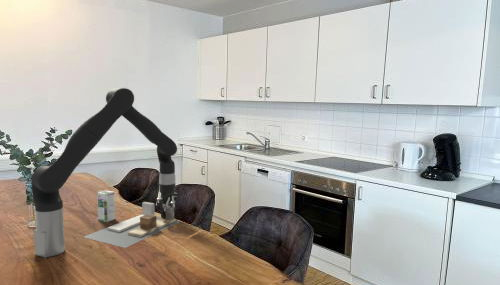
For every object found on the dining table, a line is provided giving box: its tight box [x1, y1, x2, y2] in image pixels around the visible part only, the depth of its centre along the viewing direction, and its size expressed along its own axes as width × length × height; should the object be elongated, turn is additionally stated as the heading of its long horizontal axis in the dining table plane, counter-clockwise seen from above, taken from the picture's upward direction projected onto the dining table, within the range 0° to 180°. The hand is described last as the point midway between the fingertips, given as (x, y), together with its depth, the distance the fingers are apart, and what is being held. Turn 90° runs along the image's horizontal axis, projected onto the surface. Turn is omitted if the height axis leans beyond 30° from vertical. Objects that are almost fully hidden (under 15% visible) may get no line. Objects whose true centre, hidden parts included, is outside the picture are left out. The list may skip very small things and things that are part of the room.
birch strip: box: [128, 205, 177, 237], centre depth 168 cm, size 24×7×7 cm, turn 154°
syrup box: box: [96, 190, 116, 223], centre depth 178 cm, size 6×6×14 cm
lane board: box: [83, 214, 182, 249], centre depth 167 cm, size 36×24×1 cm, turn 154°
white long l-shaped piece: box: [108, 201, 157, 232], centre depth 173 cm, size 24×7×7 cm, turn 154°
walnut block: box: [140, 214, 157, 230], centre depth 165 cm, size 5×5×5 cm
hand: (167, 216), depth 177 cm, fingers open, 5 cm apart
